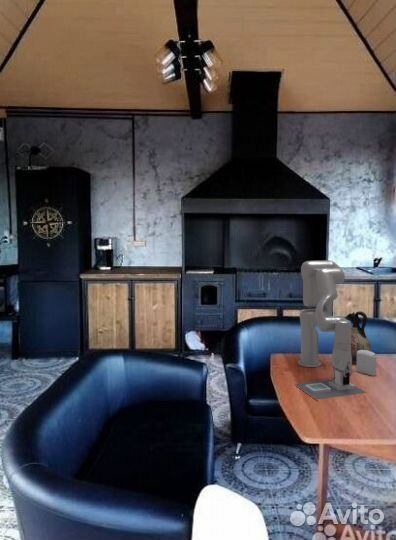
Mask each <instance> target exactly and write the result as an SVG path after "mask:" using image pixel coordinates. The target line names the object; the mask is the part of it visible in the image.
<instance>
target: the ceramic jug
mask: <svg viewBox="0 0 396 540" xmlns="http://www.w3.org/2000/svg"><path fill="white" fill-rule="evenodd" d="M359 316H361V317H362V319H363V321H362V320H361V318H360V317H359ZM345 318H346V319H347V320H349V321H351V322H352V325H351V356H352V364H356V361H357V351H359V350H368V351H371V350H372V349H371V344H370V340H369V338H368V336H367V334H366V332H365V328H366V325H367V321H368V316H367V314H366V313H365V312H363V311H357V312H354V311H353V312H352V313H351V312H350V313H348V314H347V315H346V316H345ZM360 323H362V324H361V325H360ZM371 352H372V351H371Z"/></svg>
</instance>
